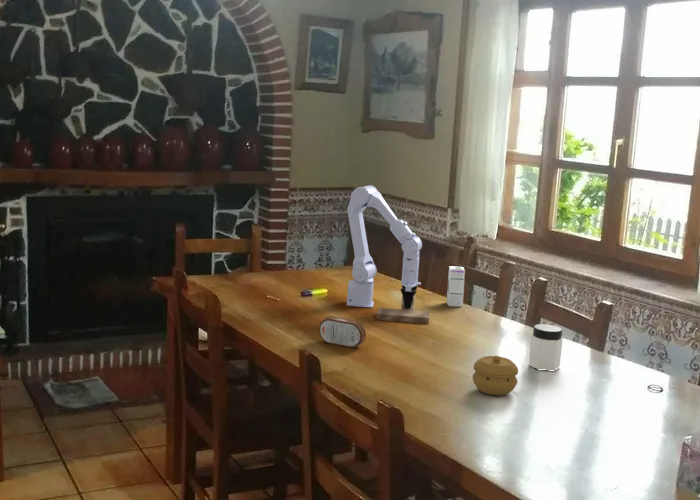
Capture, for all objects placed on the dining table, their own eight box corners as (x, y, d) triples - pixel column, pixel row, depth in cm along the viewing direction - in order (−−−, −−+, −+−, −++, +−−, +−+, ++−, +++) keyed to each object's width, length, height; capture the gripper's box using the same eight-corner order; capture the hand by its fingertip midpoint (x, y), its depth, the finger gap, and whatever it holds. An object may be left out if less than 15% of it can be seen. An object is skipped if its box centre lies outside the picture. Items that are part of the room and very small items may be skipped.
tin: (365, 348, 247) (366, 321, 246) (361, 350, 244) (362, 323, 243) (321, 339, 253) (322, 313, 252) (316, 342, 251) (318, 315, 249)
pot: (469, 383, 220) (472, 348, 219) (512, 386, 220) (515, 350, 218) (474, 398, 209) (477, 361, 207) (519, 401, 209) (523, 364, 207)
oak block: (400, 312, 292) (402, 296, 291) (401, 309, 296) (402, 293, 295) (413, 313, 291) (414, 297, 290) (413, 310, 296) (415, 294, 295)
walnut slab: (376, 319, 281) (376, 313, 280) (378, 313, 290) (379, 307, 289) (428, 324, 279) (428, 318, 278) (429, 317, 288) (429, 311, 287)
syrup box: (462, 307, 306) (465, 269, 303) (447, 306, 306) (450, 268, 303) (461, 303, 311) (464, 266, 309) (445, 302, 311) (448, 265, 309)
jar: (565, 370, 236) (569, 330, 234) (542, 373, 233) (547, 333, 230) (545, 361, 244) (549, 322, 242) (523, 363, 240) (527, 324, 238)
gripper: (420, 274, 284) (418, 312, 286) (422, 267, 298) (419, 302, 300) (400, 273, 284) (398, 310, 287) (403, 265, 299) (400, 301, 301)
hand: (407, 306), depth 293 cm, fingers closed on oak block, 4 cm apart
